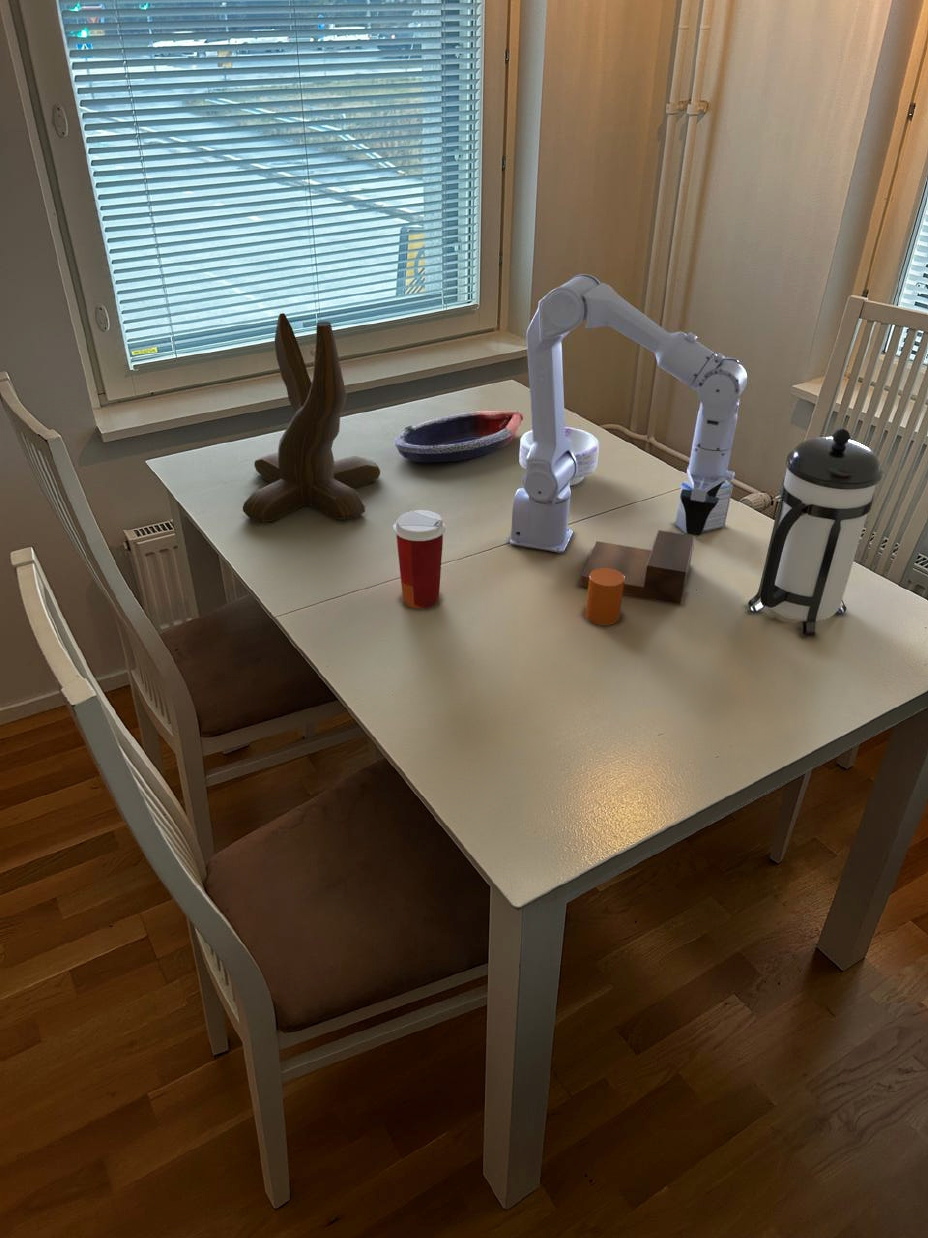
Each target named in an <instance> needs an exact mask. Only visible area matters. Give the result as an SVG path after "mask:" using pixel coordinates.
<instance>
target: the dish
mask: <svg viewBox="0 0 928 1238" xmlns="http://www.w3.org/2000/svg"><path fill="white" fill-rule="evenodd" d="M523 420H524V416H523V413H520V412H519V411H506V410H505V411H503V410H488V411H487V410H483V411H481V410H480V411H470V412H462V413H456V414H451V415H446V416H442V417H438V418H434V419H431V420H427V421H424V422H421V423H418V424H415V425H407V426H406V427H405V428H404V429H403V430H402V431H401V432H400V433H398V435H397V436H396V438H395V439H394V447H395V448H396V449H397V451H398V453H399V454H400V455H401V456H402V457H403V458H404V459H406V460H408V461H411V462H418V463H447V462H456V461H462V460H468V459H472V458H476V457H480V456H483V455H486V454H490V453H492V452H494V451H497V450H500V449H502V448H504V447H505V446H507V445H508V444H509V443H510V442H511V441H512V440H513V439H514V438H515V435H516V434H517V432H518V431H519V429H520V427H521V426H522V421H523Z"/></svg>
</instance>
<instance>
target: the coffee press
mask: <svg viewBox="0 0 928 1238" xmlns="http://www.w3.org/2000/svg"><path fill="white" fill-rule="evenodd" d="M785 466H786V473H785V475H784V478H783V479H782V482H781V486H780V491H779V495H780V498H779V502H778V505H777V509H776V514H775V518H774V522H773V526H772V531H771V535H770V540H769V544H768V548H767V552H766V557H765V562H764V565H763V570H762V574H761V579H760V583H759V587H758V591H757V593H756V594H755V595H754V596H753V597H752V598H751V599H749V600H748V602H747V606H748V608H749V610H750V612H752V613H756V612H758V611H760V610H762V609H763V608H765V607H767V608H768V609H769V610H771V611H772V612H774V613H776V614H777V615H779V616H781V617H783V618H787V619H789V620H794V621H799V622H801V625H802V634H803V637H812V638H813V637H815V636H816V633H817V632H816V628H817V627H816V624H817V622H819V621H824V620H826V619H829V618H831V617H833V616H834V615H835V614H836V613H837V614H838V615H841V614H845V613H846V611H847V606H846V604H845V603H844V600H843V598H844V594H845V591H846V589H847V585H848V581H849V578H850V575H851V571H852V568H853V564H854V561H855V557H856V554H857V550H858V547H859V544H860V540H861V537H862V534H863V530H864V527H865V523H866V520H867V517H868V514H869V513H870V511H871V509H872V506H873V502H874V499H875V493H874V492H875V489H876V486H877V484H879V482H880V481H881V479H882V476H883V468H882V466H881V464H880V460H879V458H878V456H877V454H876V453H875V452H874V451H872V450H871V449H870V448H869V447H868V446H865V445H864V444H861V443H860V442H857V441H855V440H851V434H850V432H849V431H848V430H847V429H845V428H839V429H837V430H835V431H834V432H833V434H832V436H820V437H818V436H817V437H813V438H809V439H805V440H804V441H801V442H800V443H798V444H797V445H796V446H795V447H794V448H793V450H791V451H790V452H789V453H788V454H787V456H786V459H785ZM759 600H760V602H759V603H757V602H758V601H759ZM756 603H757V604H756ZM755 604H756V605H755ZM841 604H842V606H841Z"/></svg>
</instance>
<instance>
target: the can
mask: <svg viewBox="0 0 928 1238" xmlns="http://www.w3.org/2000/svg"><path fill="white" fill-rule="evenodd" d="M623 587H624V575H623V574H622V573H621V572H619V571H617V570H615V569H611V568H599V569H595V570H593V571H592V572H591V573H590V576H589V585H588V588H587V596H586V606H585V617H586V619H587V620H588V621H590V622H591V623H593V624H595V625H600V626H601V625H602V626H608V625H614V624H615V623H617V622H618V621H619V619H620V617H621V610H622V601H623V595H624V594H623Z"/></svg>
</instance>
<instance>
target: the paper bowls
mask: <svg viewBox="0 0 928 1238" xmlns="http://www.w3.org/2000/svg"><path fill="white" fill-rule="evenodd" d="M565 436H566V438H567V439H568V440H569V441H570V442H571V448H572V453H573V455H574V457H575V459H576V461H577V467H578V468H577V473H576V475H575V476H574V478H573V479H571V480H570V483H569V487H571V486H575V485H577V484H579V483H581V482H582V481H583V480H584V478H585V477H586V476H589V475H590V474H592V473H593V472H595V471H596V469H597V467H598V460H599V453H600V452H599V451H600V442H599V440H598V438H597V437H596V436H594V435H593V434H592V433H590V432H588V431H586V430H582V429H578V428H575V427H568V426H565ZM532 443H533V433H532V429H530V430H529V431H526V432H525V433H524V434H523V435H521V437H520V443H519V446H520V447H519V459H518V460H519V462H518V463H519V465H520V466H521V467H522V468H523V469H524V470H525V471H526V470H527V457H528V454H529V452H530V449H531V446H532Z"/></svg>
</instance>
